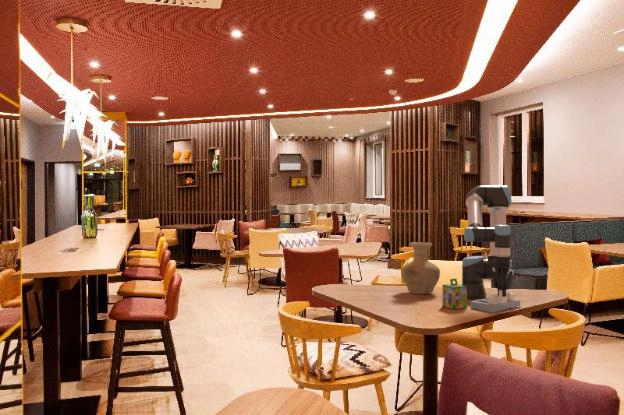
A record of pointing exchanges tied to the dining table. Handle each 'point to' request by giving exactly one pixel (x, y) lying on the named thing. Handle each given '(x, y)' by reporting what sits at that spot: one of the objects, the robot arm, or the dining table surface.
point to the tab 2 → (510, 296)
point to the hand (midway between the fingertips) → (501, 302)
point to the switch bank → (492, 308)
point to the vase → (420, 271)
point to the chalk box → (454, 295)
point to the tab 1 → (493, 299)
